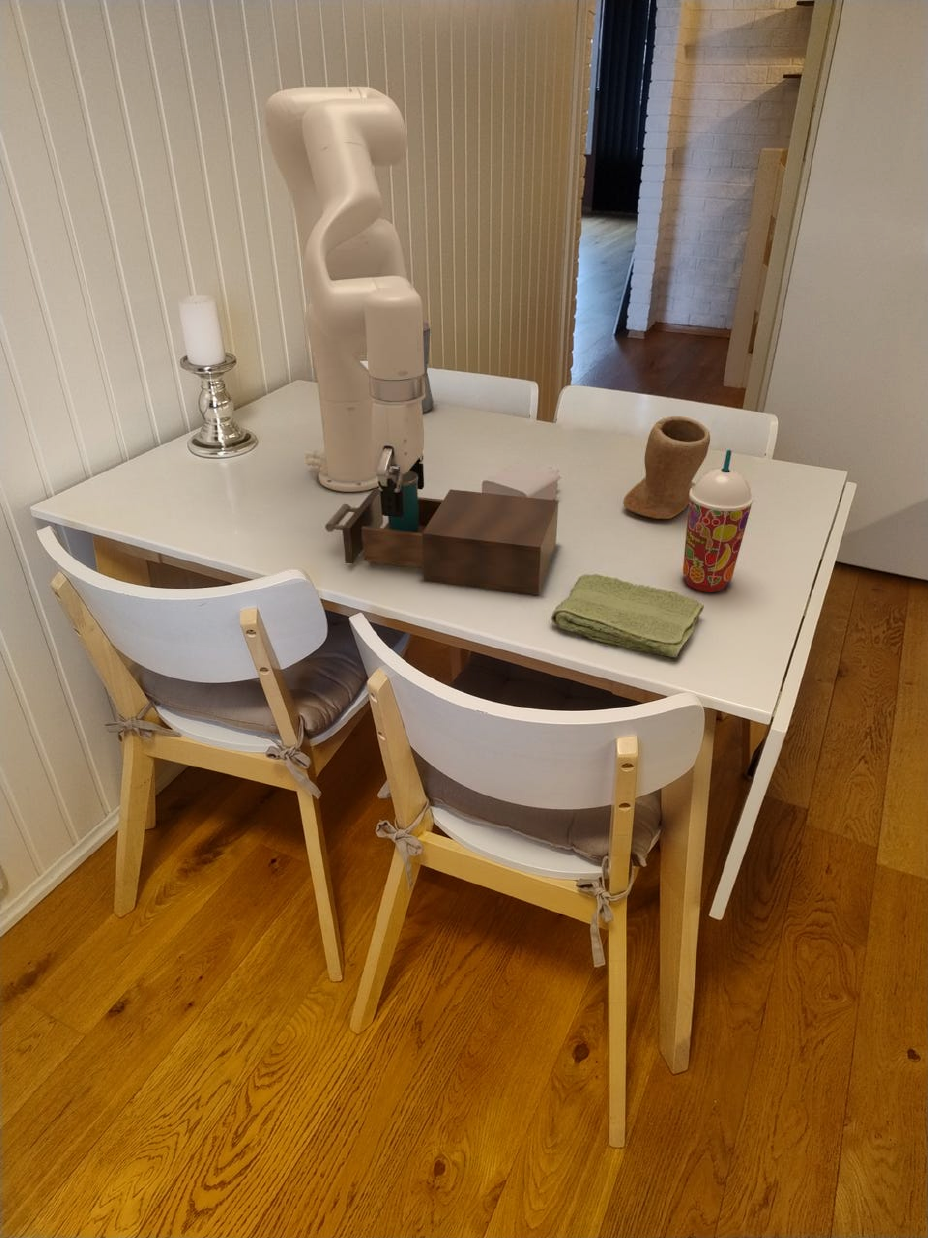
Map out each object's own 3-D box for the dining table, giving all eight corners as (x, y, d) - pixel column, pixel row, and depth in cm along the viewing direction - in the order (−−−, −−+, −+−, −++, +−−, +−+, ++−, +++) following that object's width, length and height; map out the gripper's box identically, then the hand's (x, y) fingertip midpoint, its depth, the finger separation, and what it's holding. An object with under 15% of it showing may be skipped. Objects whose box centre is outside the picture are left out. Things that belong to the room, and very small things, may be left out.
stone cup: (681, 532, 133) (695, 442, 124) (613, 513, 138) (622, 426, 130) (716, 497, 143) (731, 412, 135) (651, 481, 149) (662, 399, 140)
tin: (385, 545, 125) (381, 480, 119) (395, 531, 129) (391, 468, 123) (415, 549, 124) (412, 484, 118) (424, 535, 128) (421, 471, 122)
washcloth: (679, 666, 103) (683, 644, 102) (546, 630, 110) (547, 610, 108) (704, 613, 113) (708, 593, 111) (580, 583, 120) (582, 564, 118)
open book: (575, 488, 146) (526, 519, 137) (532, 475, 151) (481, 504, 141) (577, 463, 144) (527, 493, 134) (533, 450, 149) (481, 478, 139)
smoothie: (668, 569, 123) (687, 439, 112) (724, 566, 124) (748, 437, 113) (686, 599, 116) (708, 464, 105) (744, 596, 117) (772, 462, 106)
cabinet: (423, 580, 121) (421, 532, 116) (450, 534, 133) (450, 489, 128) (538, 595, 117) (540, 546, 113) (555, 546, 129) (558, 500, 125)
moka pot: (382, 418, 176) (376, 320, 165) (399, 394, 189) (394, 301, 178) (426, 420, 175) (423, 322, 164) (440, 396, 187) (438, 303, 176)
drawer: (318, 559, 124) (314, 524, 121) (351, 519, 135) (348, 485, 132) (447, 576, 120) (446, 539, 117) (470, 532, 131) (470, 498, 128)
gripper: (391, 366, 121) (397, 475, 131) (348, 404, 107) (358, 524, 117) (441, 369, 120) (444, 480, 129) (404, 409, 106) (410, 530, 115)
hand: (403, 501), depth 123 cm, fingers open, 9 cm apart
